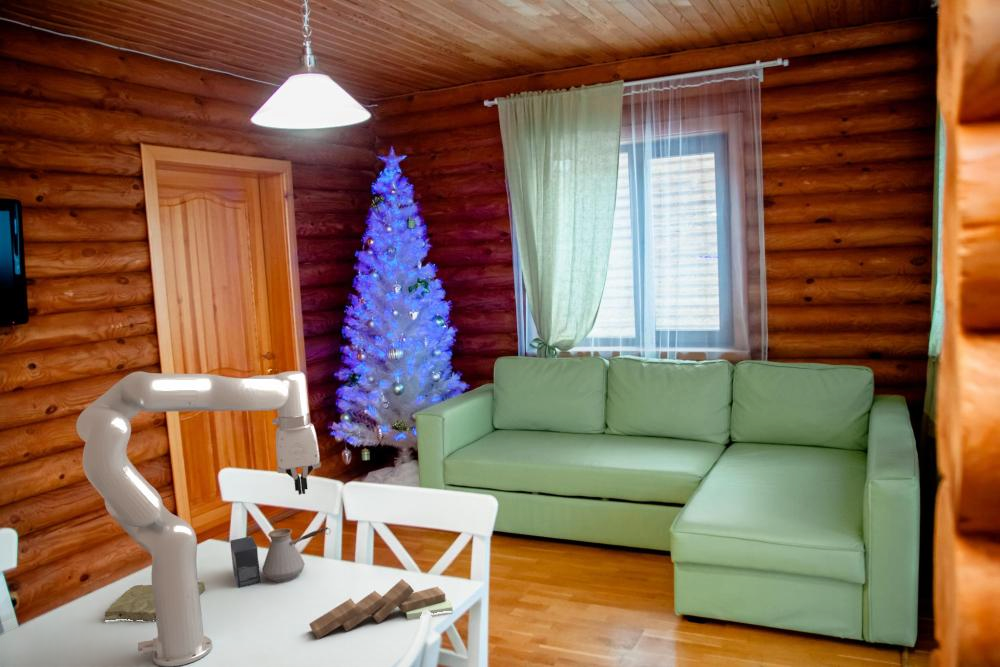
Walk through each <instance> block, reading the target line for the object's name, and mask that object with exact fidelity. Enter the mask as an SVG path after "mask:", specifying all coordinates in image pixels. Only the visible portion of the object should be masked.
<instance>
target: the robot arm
mask: <svg viewBox="0 0 1000 667" xmlns="http://www.w3.org/2000/svg"><path fill="white" fill-rule="evenodd" d="M308 399H309V398H308V389H307V379H306V375H305V374H304V372H303V371H298V370H292V371H291V370H290V371H284V372H278V374H267V375H266V374H265V375H262V374H261V375H252V376H250V377H248V378H240V377H230V376H229V377H228V376H223V375H217V374H212V373H210V374H209V373H159V372H158V373H154V372H153V373H152V372H148V371H143V370H142V371H140V370H139V371H134V372H131V373H130V374H127V375H125V376H124V377H123V378H122V379H120V380H119V381H118V382H117V383H115V384H113V386H112V387H111V388H109V389H108V390H107V391H105V392H104V393H103V394H102V395H101V396H100V397H98V398H97V399H96V400H94V401H93V402H92V403H90V404H89V405H88V406H87V407H86V408H84V410H83V411H81V413H80V415H79V416H78V418H77V420H76V426H75V428H76V433H77V435H78V436H79V438H80V440H82V441H83V442H85V444H84V448H83V453H82V468H83V473H84V475H85V476H86V478H87V481H88V482H89V483H90V484H91V485H92V486H93V488H94V489H95V490H96V491H97V492H98V494H99V495H100V496H101V497H102V499H103V500H104V505H105V509H106V510H107V512H108V513H109V515H110V516H111V517H112V518H113V519H114V521H115V522H116V523H117V524H118V525H119V526H120V527H121V528H122V529H123V530H124V531H125V532H126V534H128V535H129V537H131V538H132V539H133V540H134V541H135V543H136V544H138V546H140V547H141V548H142V549H144V550H145V551H147V553H149V554H150V555H151V585H152V589H153V596H154V604H155V613H156V621H155V622H156V630H157V636H156V637H154V638H152V639H151V640H145V641H140V642H137V650H138V652H142V655H146V654H150V653H152V660H153V663H154V664H155V665H158V666H161V667H178V666H182V665H183V666H184V665H187V664H190V663H191V664H192V663H193V662H196V661H198V660H200V659H201V658H203V657H205V656H206V655H208V654H209V652H211V650H212V648H213V641H212V640H211V638H210V637H208V636H206V635H205V634H204V628H203V627H204V625H203V617H202V607H201V596H199V586H198V582H199V578H198V569H197V554H198V553H197V551H198V541H197V540H198V539H197V535H196V531H195V530H194V527H192V525H191V524H189V523H188V521H186V520H185V519H183V518H182V517H179V516H177V515H175V514H173V513H171V511H169V510H168V509H167V508H166V506H164V504H163V499H162V497H161V494H159V491H157V490H156V488H155V487H153V486H152V485H151V484H150V482H148V481H147V479H145V477H144V476H143V475H142V474H141V473H140V472H139V471H138V470H137V468H136V467H135V465H133V463H132V462H131V461H130V459H129V457H128V455H127V448H128V443H129V441H130V438H131V433H132V427H131V422H130V421H131V420H132V419H133V418H134V417H136V416H137V415H138V414H139V413H141V411H142V412H148V413H149V412H150V413H160V412H161V413H164V412H165V413H166V412H168V413H169V412H226V411H227V412H229V411H231V412H235V411H236V412H237V411H238V412H253V411H255V412H256V411H259V412H260V411H262V412H263V411H274V410H275V411H276V410H277V417H276V418H273V419H272V425H275V426H277V428H276V431H275V452H276V462H277V468H276V471H277V473H278V474H283V475H284V474H287V475H288V476H289V477H291V478H293V482H294V489H295V492H297V493H298V495H302V494H303V495H305V494H306V490H308V479H307V478H308V476H309V474H311V472H312V471H313V470H316V469H319V468H321V466H322V463H321V461H320V452H319V451H320V450H319V443H318V437H317V432H316V429H315V426H314V424H313V423H311V418H310V409H309V408H310V407H309V400H308ZM299 468H301V474H298V471H297V469H299Z"/></svg>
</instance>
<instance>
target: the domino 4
mask: <svg viewBox="0 0 1000 667" xmlns="http://www.w3.org/2000/svg"><path fill="white" fill-rule="evenodd" d="M445 599H446V593H445V592H444V591H443V590H442V589H441V588H439V587H438V586H434V587H430V588H427V589H424V590H420V591H416V592H415V591H414V592H413V593H412V594H411V595H409V596H408V597H407V598H406V599H405V600H404V601H403V602H402V603H401V604H400V605H399V606H398V607H397V608H398V609H399V610H400V611H401V612H402V613H405V614H406V612H408V611H412V610H416V609H420V608H423V607H427V606H431V605H434V604H438V603H442V602H445Z"/></svg>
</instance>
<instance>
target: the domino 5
mask: <svg viewBox="0 0 1000 667" xmlns="http://www.w3.org/2000/svg"><path fill="white" fill-rule="evenodd" d="M425 610H428V611H430V612H431V613H433V614H434V613H437V612H443V611H452V612H453V606H452V602H451V599H450V598H447V599H446V598H445V602H442V603H438V604H434V605H431V606H427V607H423V608H420V609H416V610H412V611H408V612H405V615H406V618H407V621H408V619H410V620H415V619H420V616H421V614H422V612H423V611H425ZM453 613H454V612H453ZM413 618H414V619H413Z"/></svg>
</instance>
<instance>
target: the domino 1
mask: <svg viewBox="0 0 1000 667" xmlns="http://www.w3.org/2000/svg"><path fill="white" fill-rule="evenodd" d="M359 613H360V612H359V609H358V607H357V605H356V602H354V601H353V599H352V598H348V599H347V600H345V601H344V602H343V603H340V604H339V605H338V606H336V607H334V608H333V609H331V610H329V611H328V612H326V613H325V614H323V615H321V616H319V617H318V618H316V619H314V620H313V621H311V622H310V623H309V627H310V628H311V631H312V632H313V634H314V636H315V638H316V639H317V640H319V639H321V638H323V637H324V636H326V635H327V634H329V633H330V632H333V630H336V629H337V628H338V627H341V626H340V625H342V624H343V623H345V622H346V621H348V620H350V619H351V618H353V617H354V616H356V615H358V614H359Z"/></svg>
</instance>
